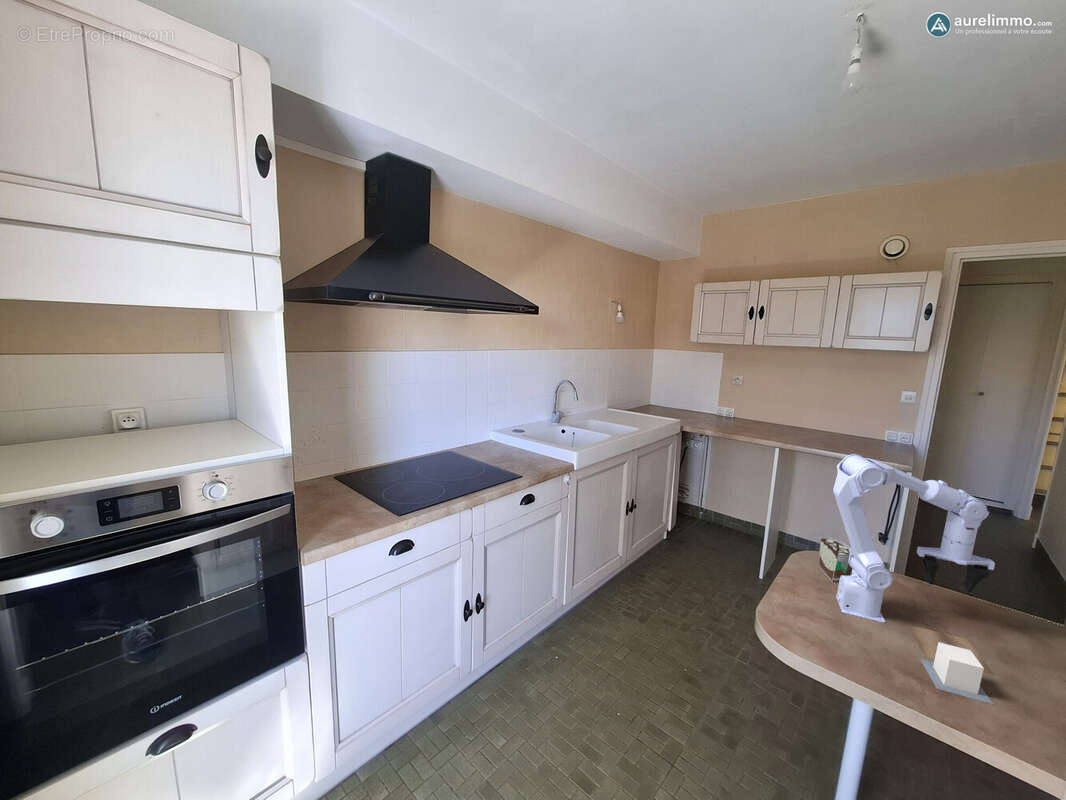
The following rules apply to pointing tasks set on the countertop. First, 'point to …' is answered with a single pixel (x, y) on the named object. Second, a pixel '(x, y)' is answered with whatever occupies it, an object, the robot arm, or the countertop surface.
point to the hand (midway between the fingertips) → (948, 586)
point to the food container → (833, 558)
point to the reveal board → (931, 638)
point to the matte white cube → (958, 668)
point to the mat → (939, 685)
